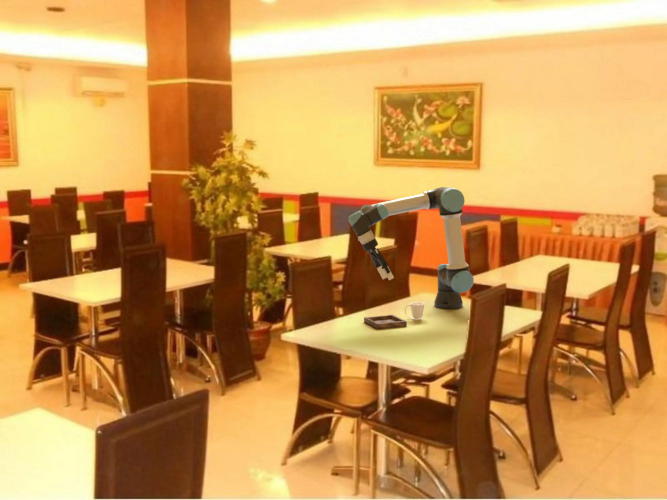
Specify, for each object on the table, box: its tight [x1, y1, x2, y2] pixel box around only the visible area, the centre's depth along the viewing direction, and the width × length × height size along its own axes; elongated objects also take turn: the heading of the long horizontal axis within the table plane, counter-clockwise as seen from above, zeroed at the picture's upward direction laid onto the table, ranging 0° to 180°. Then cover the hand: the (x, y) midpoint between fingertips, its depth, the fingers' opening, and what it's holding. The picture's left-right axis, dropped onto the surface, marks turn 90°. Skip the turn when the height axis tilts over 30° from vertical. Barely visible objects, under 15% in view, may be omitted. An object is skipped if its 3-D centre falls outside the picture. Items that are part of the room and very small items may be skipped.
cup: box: [404, 301, 425, 321], centre depth 353 cm, size 7×10×8 cm
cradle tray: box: [363, 314, 407, 330], centre depth 343 cm, size 15×15×2 cm
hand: (388, 278), depth 354 cm, fingers open, 13 cm apart
